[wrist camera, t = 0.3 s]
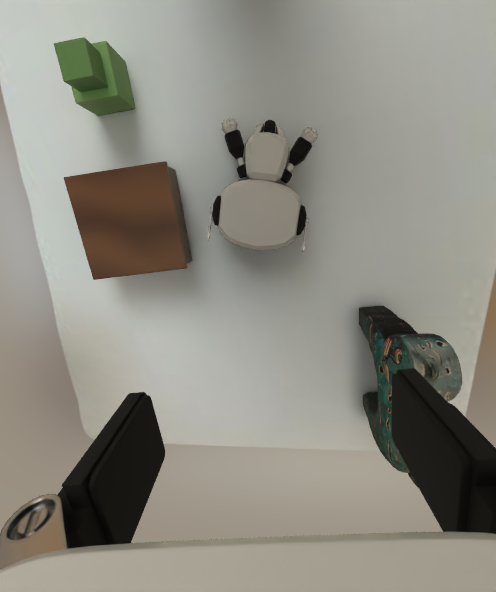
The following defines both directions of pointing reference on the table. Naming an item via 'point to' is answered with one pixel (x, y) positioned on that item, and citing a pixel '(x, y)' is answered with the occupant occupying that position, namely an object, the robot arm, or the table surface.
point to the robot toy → (262, 189)
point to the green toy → (95, 75)
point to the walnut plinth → (130, 220)
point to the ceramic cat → (402, 355)
